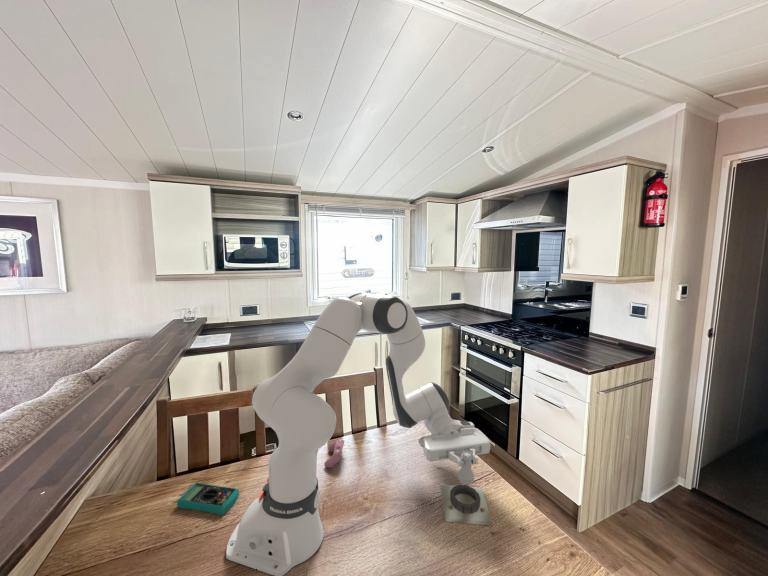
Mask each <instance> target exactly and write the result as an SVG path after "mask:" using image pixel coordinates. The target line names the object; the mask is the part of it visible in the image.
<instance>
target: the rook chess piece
mask: <svg viewBox="0 0 768 576" xmlns="http://www.w3.org/2000/svg"><path fill="white" fill-rule="evenodd" d="M469 452H470V451H468V452H466V451H463V453H462V454H461V457H462V459H463V460H464V466H461V468H460V469H459V471H458V475H457V478H458V481H459V482H460V483H462V485H466V486H469V485H472V484H473V483H474V481H475V475H474V473H473V470H472V465H473V464H472V461H471V460H472V459H473V456H472V453H471V452H470V453H469Z"/></svg>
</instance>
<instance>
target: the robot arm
mask: <svg viewBox="0 0 768 576" xmlns="http://www.w3.org/2000/svg"><path fill="white" fill-rule="evenodd" d="M311 327H312V328H311V329H310V330H309V333H308V335H307V336H306V338H305V340H304V341H303V343H302V344H301V346H300V348H299V349H298V351H297V352H296V353H295V355H294V356H293V358H292V359H291V360H290V361H289V362H288V363H286V365H285V366H284V367H283V368H282V369H280V370H279V371H278V373H276V374H274V375H273V376H272V377H269V378H266V379H264V380H262V381H261V382H260V383H259V384H258V385H257V386H256V387H255V389H254V392H253V393H252V397H251V398H252V399H251V402H252V404H251V405H252V407H253V409H254V411H255V413H256V415H257V416H258V418H259V419H260V420H261V421H262V422H263V423H265V424H266V425H267V426H268V427H269V428H271V429H272V430H273V431H274V432H275V434H276V437H277V439H278V447H277V448H275V450H274V451H272V453H271V455H270V456H269V459H268V464H267V466H268V477H267V479H266V482H267V483H266V484H265V485H264V486H263V487H262V490H261V493H260V494H259V496H258V497H257V498H256V499H254V500H253V501H252V503H250V505H249V506H248V508H247V509H246V510H245V511H244V513H243V515H242V517H241V519H240V522H238V524H237V525H236V526H235V528H234V530H233V532H231V535H230V538H229V539H228V542H227V545H226V552H225V557H226V559H227V560H229V561H231V562H234V563H237V564H240V565H243V566H245V567H248V568H251V569H254V570H256V569H257V571H259V572H263V573H266V574H268V575H270V576H271V575H272V576H273V575H274V576H284V575H285V574H288V572H289V571H290V570H291V569H292V568H294V567H295V566H297V565H299V564H301V563H303V562H305V561H308V560H309V559H310V558H311V557H312V556H313V555H314V554H315V553H316V552H317V550H318V549H319V548H320V546H321V545H322V543H323V539H324V536H325V535H324V530H325V529H324V527H323V524H322V521H321V517H320V512H319V500H320V493H319V492H320V490H319V481H318V477H317V462H318V461H317V460H318V458H317V457H318V453H319V452H318V451H319V449H320V448H322V447H324V446H325V445H326V444H327V443H328V442H329V440H330V439H331V438H332V437H333V435H334V433H335V429H336V426H337V425H336V424H337V415H336V412H335V410H334V409H333V408H332V406H331V405H330V404H329V403H328V402H327V401H325V399H324V398H322V397H321V396H319V395H318V394H315V393H313V391H314V390H315V389H316V388H317V386H318V385H320V384H321V383H322V382H323V381H324V380H326V379H329V378H332V377H334V376H336V375H337V373H338V372H339V370H340V369H341V367H342V364H343V363H344V360H345V359H346V357H347V355H348V352H349V351H350V349H351V347H352V344H353V343H354V341H355V338H356V336H357V334H358V333H359V332H360V331H361V330H363V331H366V332H368V333H369V332H370V333H377V334H383V335H386V337H387V340H388V342H389V352H388V355H387V357H386V358H385V368H386V374H387V375H386V376H387V380H388V386H389V391H390V395H391V404H392V413H393V416H394V419H395V421H396V422H397V424H398V425H399V426H400V427H403V428H406V429H412V428H413V427H414V426H416V425H418V423H420V422H423V424H424V425H425V427H426V429H427V430H428V431H429V433H430V434H431V435H426V436H425V435H424V436H421V438H419V439H418V444H419V446H420V447H422V450H423V455H424V457H425V459H426V460H427V461H429V462H431V463H432V462H439V461H445V460H449V461H451V462H452V463H454V464H456V465H457V467H459V468H460V467H462V466H464V460H463V458H462V457H461V454H462V453H463V451H466V452H468V451H470V452H471V453H472V456H473V459H472V460H471V461H472V464H471V465H478V463H479V459H478V457H477V456H479V455H486V454H489V453H490V451H491V440H490V439H489V438H488V436H486V434H484V432H482V431H481V430H480V429H479V428H476V427H475V424H474V423H473V422H472V421H466V420H465V421H464V420H463V421H462V420H457V419H453V418H452V417H451V416H450V414H449V412H450V408H451V403H450V400H449V397H448V395H447V393H446V392H445V391H444V389H443V388H442V387H441V386H440V385H439V384H437V383H435V382H430V381H429V382H428V383H426V384H423V385H422V386H420V387H418V388H416V389H414V390H412V391H410V392H408V393H406V394H405V390H404V384H403V377H404V375H405V374H406V372H407V371H408V370H409V369H410V367H412V366H413V365H414V364H415V363H416V362H418V360H419V359H420V357H421V356H422V355H423V353H424V351H425V349H426V339H425V335H424V332H423V329H422V326H421V324H420V321H419V318H418V317H417V314H416V313H415V311H414V308H412V306H411V305H410V303H409V302H407V301H404V300H402V299H401V298H399V297H398V296H395V295H391V294H382V293H380V294H379V293H376V292H367V293H366V292H364V293H362V292H358V293H355V294H351V295H349V296H348V297H345V296H343V297H342V296H341V297H336V298H333V299H332V300H331V301H330V303H329V304H328V305H327V306H326V307H325V308H324V309H323V311H322V312H321V313H320V315H319V317H318V318H317V319H316V321H315V322H314V324H313V326H311ZM470 452H469V453H470Z"/></svg>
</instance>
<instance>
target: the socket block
mask: <svg viewBox="0 0 768 576" xmlns="http://www.w3.org/2000/svg"><path fill="white" fill-rule="evenodd" d="M440 488H441V494H442V496H441V497H442V503H443V511H444V518H445V522H449V523H460V524H470V525H484V526H492V525H493V520H492V517H491V515H490V511H489V508H488V504H487V501H486V498H485V494H484V490H483V488H482V487H475V486H469V485H466V484H458V485H452V484H451V485H450V484H441V487H440Z"/></svg>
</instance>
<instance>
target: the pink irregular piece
mask: <svg viewBox="0 0 768 576" xmlns="http://www.w3.org/2000/svg"><path fill="white" fill-rule="evenodd" d="M344 444H345V440H344V439H341V438H338V439H336V440H335V441H334V442H332V443H331V444H329V446H328V451H329V452H333V454H332V455H331V457H329V458H327V459H326V461H325V462H324V467H325V469H327V468H331V467H334V466H335V465H336V464H337V463H339V461H340V460H342V459H343V448H344Z"/></svg>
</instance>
